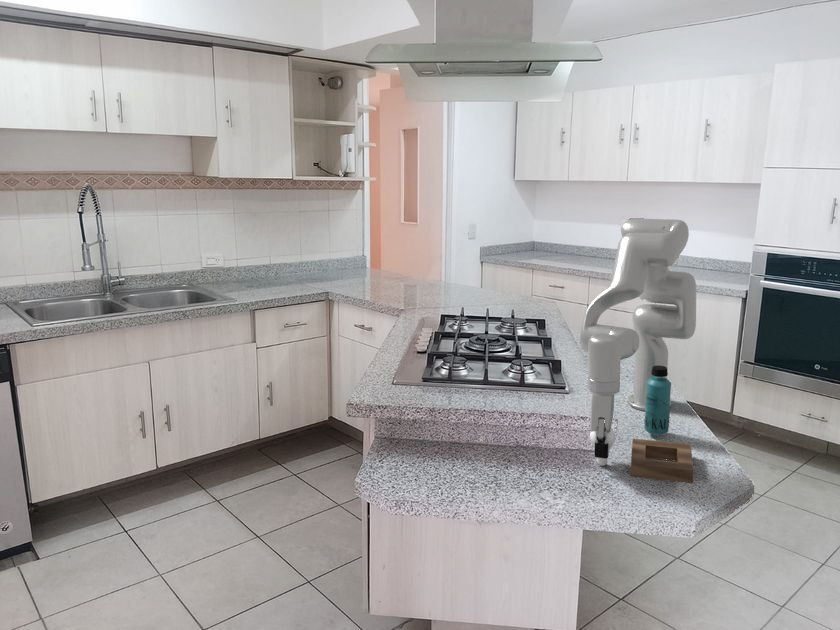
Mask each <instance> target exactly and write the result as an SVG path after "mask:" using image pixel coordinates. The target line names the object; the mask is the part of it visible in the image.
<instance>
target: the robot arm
mask: <svg viewBox="0 0 840 630" xmlns="http://www.w3.org/2000/svg"><path fill="white" fill-rule="evenodd" d="M620 229H621V230H620V231H621V238H620V239H619V242H618V245H617V249H616V252H615V253H616V254H615V257H614V262H613V267H612V272H611V275H610V279H609V283H608V285H607V286H606V288H605V289H603V290H602V291H601V292H599V294H597V295H596V297H594V298H593V300H591V302H590V303H589V305H588V306H587V308H586V310H585V312H584V315H583V319H582V324H581V327H580V328H581V329H580V331H579V346H580V347H581V349H582V351H584V352H586V353H587V354H588V356H587V357H588V358H587V390H588V392H589V393H591V396H590V421H589V422H590V424H589V425H590V426H589V430H590V433H591V432H593V431H595V430H596V442H595V448H594V458H596V459H597V458H608V459H609V456H608V443H607V438H608V433H609V432H610V430H611V428H612V425H613V418H614V410H615V409H614V408H615V395H616V394H618V393H620V391H621V390H620V387H621V383H620V382H621V360H625V359H629V358H630V357H632V356H634V362H633V363H634V365H633V366H634V369H633V370H634V371H633V394H632V395H630V396H628V400H627V404H628V405H629V404H630V405H631V406H630V405H629V406H630V407H632V408H633V409H636V410H639V411H643V412H645V410H646V409H645V408H646V406H645V404H646V399H645V398H646V393H647V381H648V380H649V379H650V378H652V377H655V376H653V375H652V374H651V372H652V367H653V366H657V365H660V366H665V367H667V371H668V370H669V369H668V368H669V367H668V365H669V349H668V345H667V344H666V342H665V340H664V339H663V338H665V339H674V340H689V339H691V338H692V337H694V334H695V331H696V329H697V328H696V327H697V282H696V279H695V277H694V275H693V274H691V273H689V272H686V271H673V270H672V271H671V270H670V269H669V267H670V266H672V265H674V264H675V263H676V261H677V260H678V258H679V257H680V256H681V254H682V252H683V251H684V249H685V248H686V246H687V243H688V241H689V236H690V235H689V234H690V233H689V226H688V225H687V223H686V221H684V220H682V219H671V218H669V219H668V218H666V219H664V218H663V219H661V218H633V219H632V218H631V219H628V220H625V221H624V222H623V223H622V225H621V228H620ZM637 298H639V299H640V300H641V301H643V302H645V303H643V304H640V305H639V306H637V307H636V308H635V309H634V311H633V314H632V326H633V327H632V328H633V329H632V328H630V327H624V326H616V325H615V326H614V325H608V324H607V325H606V324H598V320H599V318H600V317H601V316H602V314H604V312H605V311H607V310H609V309H610V308H611V307H614V306H616V305H619V304H622V303H625V302H627V301H631V300H634V299H637ZM646 302H647V303H646ZM664 378H666V379H668V375H667V376H665V377H664ZM670 406H671V407H672V400H671V399H670ZM604 420H605V423H604ZM604 429H606V431H604ZM604 434H605V436H604Z"/></svg>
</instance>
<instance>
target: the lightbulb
mask: <svg viewBox="0 0 840 630" xmlns="http://www.w3.org/2000/svg"><path fill="white" fill-rule="evenodd" d="M604 431H606V429H604ZM604 436H605V434H604ZM589 440H590V442H591V444H592V446H593V447H594V449H595V442H596V430H595V431H593V432H591V431H590V433H589ZM615 441H616V433H615V431H614V429H613V428H612V427H611V430H610V432H609V433H608V438H607V443H608V458H597V457H596V463H597V464H598V465H600V466H601V467H603V466H605V465H607V464H608V460H609V455H610V450H611V448H612V447H613V446H614V444H615Z"/></svg>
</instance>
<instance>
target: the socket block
mask: <svg viewBox="0 0 840 630" xmlns="http://www.w3.org/2000/svg"><path fill="white" fill-rule="evenodd" d="M631 443H632V444H631V445H632V446H631V458H630V477H632V478H641V479H650V480H660V481H666V480H669V481H668V482H675V481H677V483H683V482H685V484H692V483H694V463H693V455H692V445H691V443H684V442H673V441H663V440H662V441H661V440H650V439H644V438H643V439H642V438H632V442H631ZM663 459H664V460H663ZM666 459H667V460H666ZM672 460H675V461H672Z"/></svg>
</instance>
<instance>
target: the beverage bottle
mask: <svg viewBox="0 0 840 630" xmlns="http://www.w3.org/2000/svg"><path fill="white" fill-rule="evenodd" d="M651 374H652V375H653V376H655V377H652V378H650V379H649V380H648V381H647V393H646V398H645V399H646V404H645V406H646V408H645V409H646V410H645V411H644V412H645V413H644V418H643V419H644V423H643V424H644V426H643V427H644V430H645V432H647V433H648V434H651V435H654V436H657V435H658V436H660V435H661V436H662V435H666V434H668V432H669V430H670V428H669V427H670V419H671V417H670V415H671V407H672V405H671V406H670V400H671V394H672V393H671V391H672V382H671V381H670V380H669V379H668V378H667V379H666V378H664V377H665V376H667V377H668V375H669V373H668V370H667V367H665V366H660V365H657V366H653V367H652V372H651Z"/></svg>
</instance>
